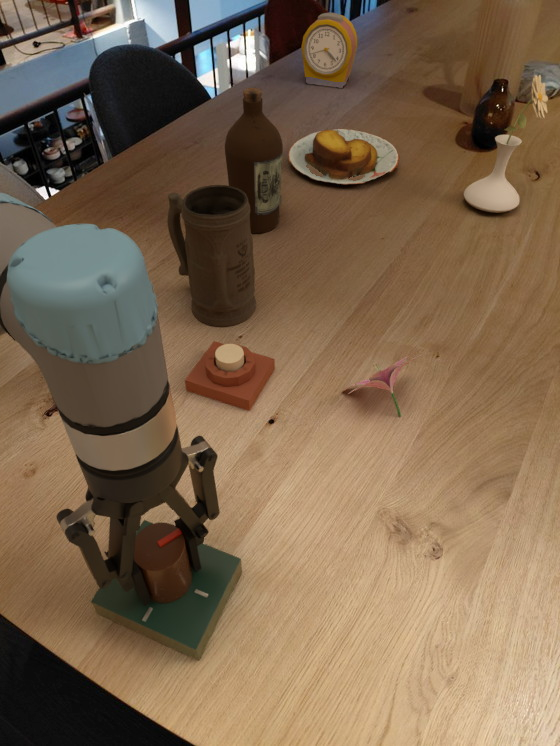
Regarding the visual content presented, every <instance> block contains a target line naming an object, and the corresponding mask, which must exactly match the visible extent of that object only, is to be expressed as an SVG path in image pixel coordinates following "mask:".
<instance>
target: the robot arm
mask: <svg viewBox="0 0 560 746" xmlns="http://www.w3.org/2000/svg"><path fill="white" fill-rule="evenodd" d="M157 301H158V300H157V294H156V293H155V292H154V285H153V283H152V281H151V280H150V277H149V273H148V269H147V266H146V261H145V257H144V255H143V253H142V250H141V248H140V247H139V246H138V243H137V242H135V241H134V240H133V239H132V238H131V237H130V236H129V235H127V234H126V233H124V232H122V231H121V230H119V229H116V228H112V227H107V228H99V227H98V225H96V224H94V223H72V224H64V225H60V226H57V225H56V224H55V223H54V222H53V220H52V219H51V218H49V216H47V215H45V214H44V213H43V212H42V211H40V210H39V209H37V208H35V207H33V206H32V205H29V204H28V203H26V202H25V201H23V200H22V201H21V200H20V199H18V198H17V197H14V196H12V195H10V194H7V193H5V192H0V336H2V335H4V334H7V335H8V336H9V337H10V338H11V339H12V340H14V341H15V342H16V343H18V345H20V347H21V348H23V350H24V351H25V352H26V353H27V354H28V355H29V356H30V357H31V358H32V360H33V361H34V362H35V364H36V365H37V367H38V369H39V370H40V372H41V374H42V377H43V379H44V381H45V383H46V385H47V388H48V390H49V392H50V394H51V396H52V399H53V402H54V405H55V407H56V410H57V411H58V414H59V416H60V419H61V421H62V424H63V426H64V429H65V432H66V435H67V437H68V439H69V443H70V444H71V447H72V450H73V452H74V454H75V457H76V460H77V462H78V465H79V468H80V470H81V473H82V476H83V477H84V480H85V482H86V485H87V489H86V492H85V500H86V501H85V502H83V503H82V504H81V505H80V506H79V507H78V508H76V509H75V510H73V509H71V508H63V509H62V510H60V511H59V512H58V513H57V514H56V517H55V519H56V520H57V522H58V524H59V526H60V528H61V530H62V531H63V534H64V535H65V537H66V539H67V541H68V542H69V543H70V544H71V545H74V546H76V547H78V548H79V551H80V553H81V555H82V558H83V560H84V562H85V564H86V566H87V568H88V570H89V572H90V574H91V575H92V577H93V580H94V581H95V583H96V585H97V587H98V589H99V588H100V589H103V588H106V587H107V586H109V585H110V584H111V582H112V579H116V578H117V580H118V582H119V583H120V585H121V587H122V589H123V590H124V591H125V592H128V591H129V590H131V589H132V588H134V589H135V590H136V592H137V594H138V595H139V597H140V599H141V601H142V602H143V604H144V606H146V605H147V604H149V603H151V602H152V601H151V599H150V596H149V593H148V590H147V587H146V584H145V582H144V579H143V576H142V573H141V571H140V569H139V568H138V566H137V564H136V563H135V561H134V559H133V557H134V548H135V538H136V531H138V530H139V529H140V525H141V520H142V516H144V515H145V514H146V513H147V512H149V511H150V510H152V509H154V508H156V507H159V506H161V505H163V504H164V503H165V504H166V505H167V506H168V507H169V508H170V509H171V510H173V512H174V513H175V514H176V515H177V516H178V518H177V519H175V520H173V521H174V526H176V527H177V528H179V529H180V530H181V532H182V534H183V536H184V539H185V544H186V548H187V553H188V557H189V562H190V566H191V567H192V569H193V570H194V572H195V573H196V572H197V571H199V570H200V569H201V564H200V558H199V553H198V548H197V546H199V545H200V544H202V543H203V544H204V541H205V538H206V537H207V536H208V534H209V530H208V528H207V527H206V525H204V524H205V522H206V521H208V520H210V521H213V520H215V519H217V518H218V517H219V515H220V513H221V512H220V506H219V499H218V493H217V486H216V477H215V472H214V471H215V467H216V463H217V460H218V453H217V452H216V451H215V450H214V449H213V448H212V446H211V445H210V444H209V442H208V441H207V440H206V439H205V438H204V437H203V436H202V435H197V436H195V437H193V439H191V442H190V445H189V446H186V447H182V442H181V437H180V432H179V427H178V424H177V423H178V422H177V414H176V411H175V410H176V409H175V405H174V401H173V396H172V390H171V386H170V382H169V375H168V369H167V363H166V362H167V361H166V357H165V351H164V346H163V345H164V344H163V338H162V333H161V327H160V319H159V314H158V313H159V312H158V309H159V308H158V307H159V305H158V302H157ZM187 468H188V470H189V475H190V479H191V484H192V489H193V494H194V498H195V505H193V506H192V507H191V505H190V504H189V503H188V502H187V500H186V499H185V498H184V497H183V496H182V494H181V493H180V491H179V490H178V489H177V488H176V487H177V485H178V484H179V482H180V480H181V479H182V477H183V475H184V473H185V472H186V470H187ZM96 516H98V517H104V518H106V517H107V518H110V519H109V531H108V546H107V547H108V548H107V551H104V552H103V553H104V554H105V557H106V559H105V558H104V557H103V554H102V552H101V549H100V546H99V544H98V542H97V540H96V539H95V536H94V534H95V533H96V530H95V529H94V527H95V525H96V522H95V520H94V519H95V517H96Z"/></svg>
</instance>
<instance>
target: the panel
mask: <svg viewBox="0 0 560 746" xmlns="http://www.w3.org/2000/svg"><path fill="white" fill-rule="evenodd" d="M151 524H154V523H153V522H151V521H148V520H145V519H144V520H143V521H142V522H141V523H140V529H139V530H138V531H136V536H137V534H138V533H139V532H140V531H141V530H142V529H144V528H145V527H147V526H149V525H151ZM197 548H198V553H199V558H200V564H201V569H200V570H199V571H197V572H196V573H195V572H194V570H193V569H192V567H191V571H192V582H191V585H190V587H189V589H188V591H187V592H186V593H185V594H184V595H183V596H182V597H181V598H179V599H178V600H176V601H173V602H170V603H159V602H156V601H154V600H152V599H151V598H150V599H151V601H152V602H151V603H149V604H147V605H146V606H144V604H143V602H142V601H141V599H140V597H139V595H138V594H137V592H136V590H135V589H134V588H132V589H131V590H129V591H128V592H125V591H124V590H123V589H122V587H121V585H120V583H119V582H118V580H117V578H116V579H112V582H111V584H110V585H109V586H107V587H106V588H103V589H100V588H99V587H98V589H97V591H96V592H95V594H94V596H93V597H92V599H91V600H90V604H91V605H92V607H93V609H94V611H95V613H96V614H97V615H99V616H101V617H103V618H106V619H108V620H110V621H112V622H114V623H116V624H118V625H121V626H123V627H125V628H127V629H129V630H131V631H134V632H136V633H137V634H140V635H142V636H145V637H146V638H148V639H151V640H153V641H155V642H158V643H159V644H162V645H164V646H165V647H168V648H170V649H172V650H174V651H176V652H179V653H181V654H183V655H185V656H187V657H190V658H192V659H194V660H196V661H198V662H199V661H200V659H201V657H202V656H203V653H204V652H205V649H206V647H207V646H208V644H209V642H210V639H211V638H212V636H213V633H214V632H215V629H216V627H217V626H218V625H217V624H218V623H219V621H220V618H221V616H222V614H223V612H224V610H225V608H226V606H227V604H228V602H229V600H230V599H231V598H230V597H231V596H232V593H233V592H234V590H235V587H236V585H237V584H238V581H239V579H240V577H241V575H242V573H243V565H242V558H240V557H237V556H235V555H233V554H230V553H229V552H225V551H222V550H220V549H217V548H216V547H214V546H211V545H209V544H205V543H204V542H203V543H202V544H200V545H199V546H197Z"/></svg>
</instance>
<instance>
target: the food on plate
mask: <svg viewBox="0 0 560 746" xmlns="http://www.w3.org/2000/svg"><path fill="white" fill-rule="evenodd" d="M287 157H288V162H289V163H290V165H292V167H293V168H295V170H297V171H298V172H300V173H301V174H302V175H305V176H307V177H309V178H310V179H311V180H315V181H319V182H320V181H321V182H324V183H331V184H337V185H340V184H341V185H345V186H346V185H358V184H365V183H366V182H369V181H371V180H375V179H377V178H379V177H381V176H384V175H385V174H386V173H391V172H393V171H394V170H395V169H396V168H399V167H400V166H399V163H400V155H399V151H397V148H396V147H395V145H393V144H392V143H391V142H389V141H388V140H386V139H385V138H382V137H380V136H378V135H375V134H372V133H368V132H366V131H359V130H355V129H346V128H338V129H324V130H320V131H319V130H318V131H316V132H312V133H309V134H308V135H306V136H304V137H300V138H299V139H298V140H297V141H295V142H294V143H293V144H292V145H291V147H290V148H289V150H288V152H287ZM307 164H309V165H311V166H312V167H314V168H315V169H317V170H318V171H319V172H321V173H322V174H323V177H320V176H316V175H315V174H312V173H311V172H310V170H309V168H307V167H306V165H307ZM359 175H365V177H363V178H362V179H360V180H356V181H353V180H349V178H350V177H352V176H353V177H356V176H359ZM381 183H382V184H383V181H382V182H381Z"/></svg>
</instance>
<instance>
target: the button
mask: <svg viewBox="0 0 560 746" xmlns="http://www.w3.org/2000/svg"><path fill="white" fill-rule="evenodd" d="M223 344H224V345H222V346H220V347H219V348H217V350H216V352H215V359H216V365H217V367H218V368H219V369H220V370H222V371H225V372H232V371H237V370H239V369H240V368H241V367H242V366H243V364H244V351H243V349H242V348H241V347H240V346H238V345H239V344H237V343H223ZM236 344H237V345H236Z"/></svg>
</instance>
